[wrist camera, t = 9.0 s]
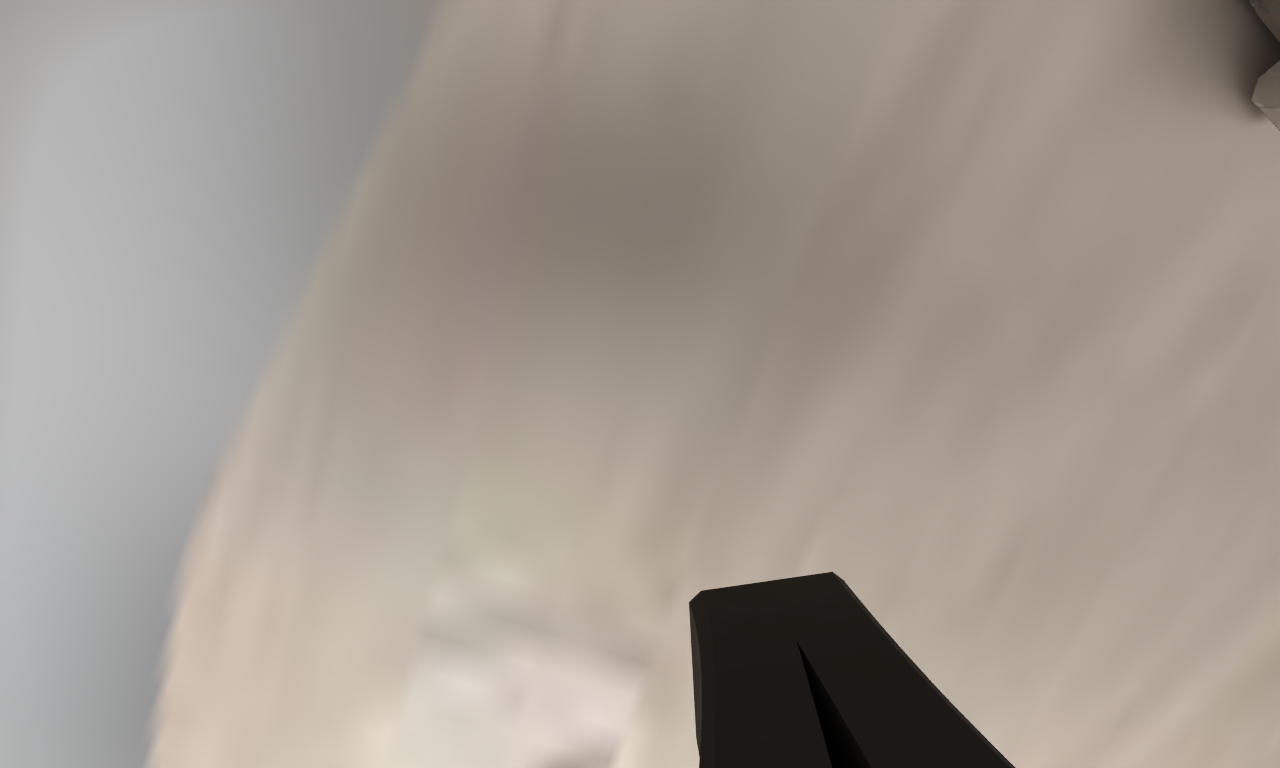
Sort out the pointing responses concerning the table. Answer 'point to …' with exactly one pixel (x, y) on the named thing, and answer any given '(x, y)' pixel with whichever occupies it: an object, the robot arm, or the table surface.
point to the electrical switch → (1275, 89)
